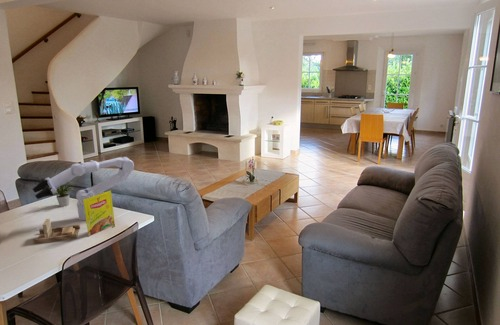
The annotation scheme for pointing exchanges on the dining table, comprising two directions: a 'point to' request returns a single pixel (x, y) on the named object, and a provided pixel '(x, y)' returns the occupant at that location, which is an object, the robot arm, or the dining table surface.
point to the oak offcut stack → (68, 231)
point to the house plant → (63, 195)
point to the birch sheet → (47, 228)
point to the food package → (99, 212)
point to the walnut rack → (56, 235)
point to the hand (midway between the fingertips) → (34, 194)
